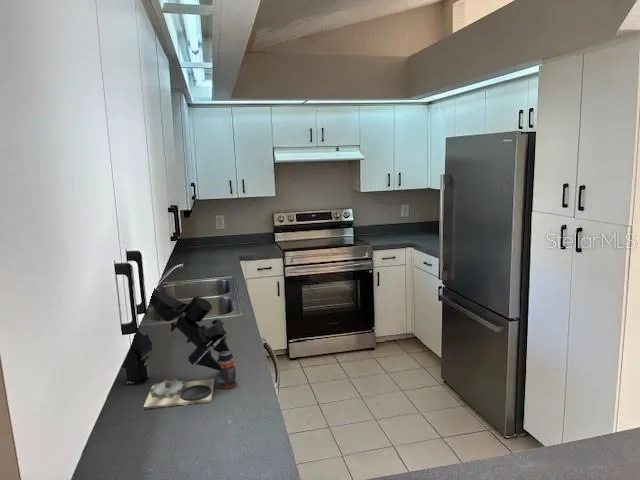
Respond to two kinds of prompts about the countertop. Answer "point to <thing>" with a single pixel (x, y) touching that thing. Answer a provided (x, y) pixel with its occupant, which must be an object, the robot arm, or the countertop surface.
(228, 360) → the supplement bottle
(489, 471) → the countertop surface
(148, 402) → the gear board
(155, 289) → the robot arm
